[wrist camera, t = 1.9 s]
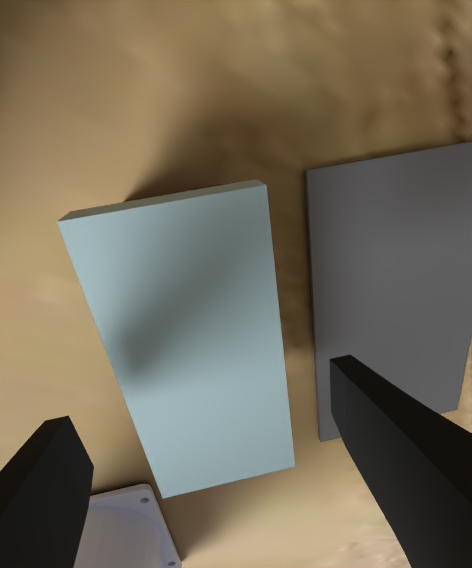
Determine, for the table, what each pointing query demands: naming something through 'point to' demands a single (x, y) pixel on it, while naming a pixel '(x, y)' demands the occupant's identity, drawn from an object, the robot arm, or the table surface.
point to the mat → (393, 272)
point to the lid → (191, 329)
